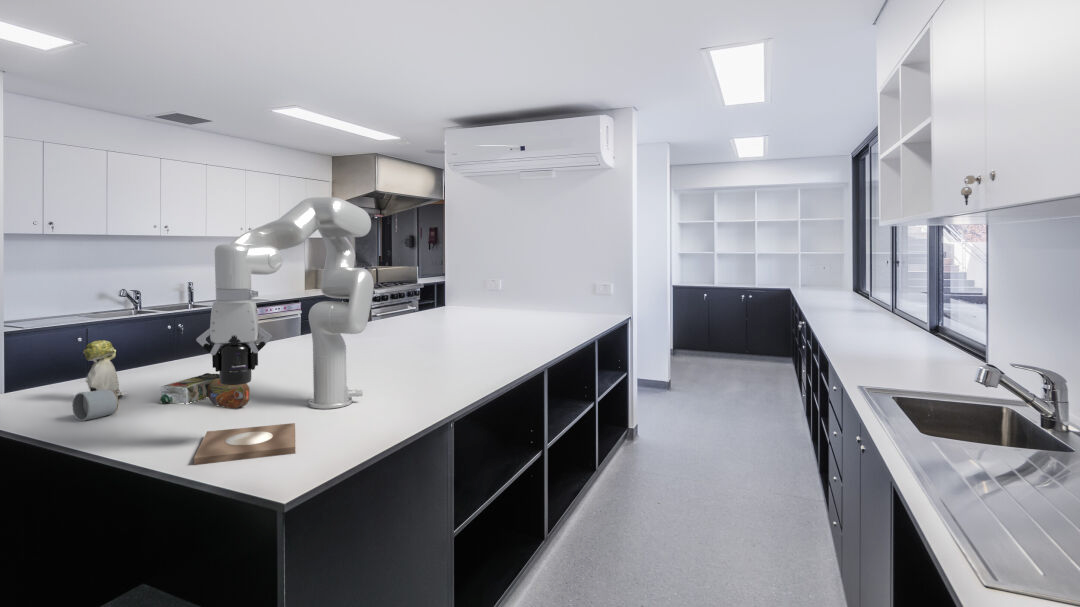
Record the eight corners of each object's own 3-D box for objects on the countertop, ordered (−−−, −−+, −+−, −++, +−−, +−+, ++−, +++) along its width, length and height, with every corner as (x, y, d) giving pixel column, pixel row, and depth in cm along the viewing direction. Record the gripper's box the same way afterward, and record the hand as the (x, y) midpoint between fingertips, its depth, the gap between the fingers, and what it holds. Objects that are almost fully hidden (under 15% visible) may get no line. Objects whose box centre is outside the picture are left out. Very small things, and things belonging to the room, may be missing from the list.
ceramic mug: (121, 415, 156) (120, 388, 156) (89, 423, 149) (87, 394, 148) (97, 410, 160) (96, 384, 160) (64, 418, 153) (63, 390, 152)
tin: (207, 404, 169) (206, 377, 168) (216, 402, 172) (215, 375, 171) (243, 410, 163) (242, 382, 162) (252, 407, 166) (251, 380, 165)
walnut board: (295, 428, 146) (295, 422, 146) (295, 453, 128) (295, 446, 128) (207, 437, 138) (207, 430, 138) (194, 464, 120) (193, 457, 120)
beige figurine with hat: (132, 393, 181) (130, 337, 179) (117, 403, 168) (115, 343, 167) (88, 395, 177) (85, 338, 175) (69, 406, 164) (66, 344, 163)
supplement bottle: (237, 386, 131) (235, 335, 130) (212, 384, 132) (211, 334, 131) (258, 380, 137) (257, 332, 136) (234, 378, 139) (233, 331, 138)
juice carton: (232, 391, 187) (231, 373, 187) (186, 406, 167) (185, 387, 167) (205, 389, 188) (205, 372, 188) (157, 404, 169) (156, 385, 168)
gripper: (275, 294, 140) (276, 364, 141) (194, 295, 133) (197, 368, 135) (273, 296, 133) (274, 370, 134) (188, 297, 126) (191, 375, 128)
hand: (235, 369), depth 135 cm, fingers closed on supplement bottle, 6 cm apart
